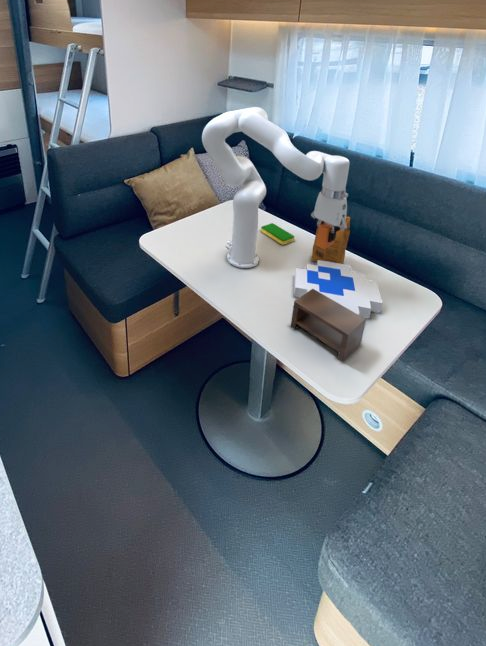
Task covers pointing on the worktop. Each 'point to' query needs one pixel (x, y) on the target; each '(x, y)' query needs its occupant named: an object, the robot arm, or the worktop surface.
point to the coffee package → (333, 247)
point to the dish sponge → (277, 233)
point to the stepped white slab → (339, 286)
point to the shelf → (329, 322)
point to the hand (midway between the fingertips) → (325, 238)
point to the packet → (323, 236)
